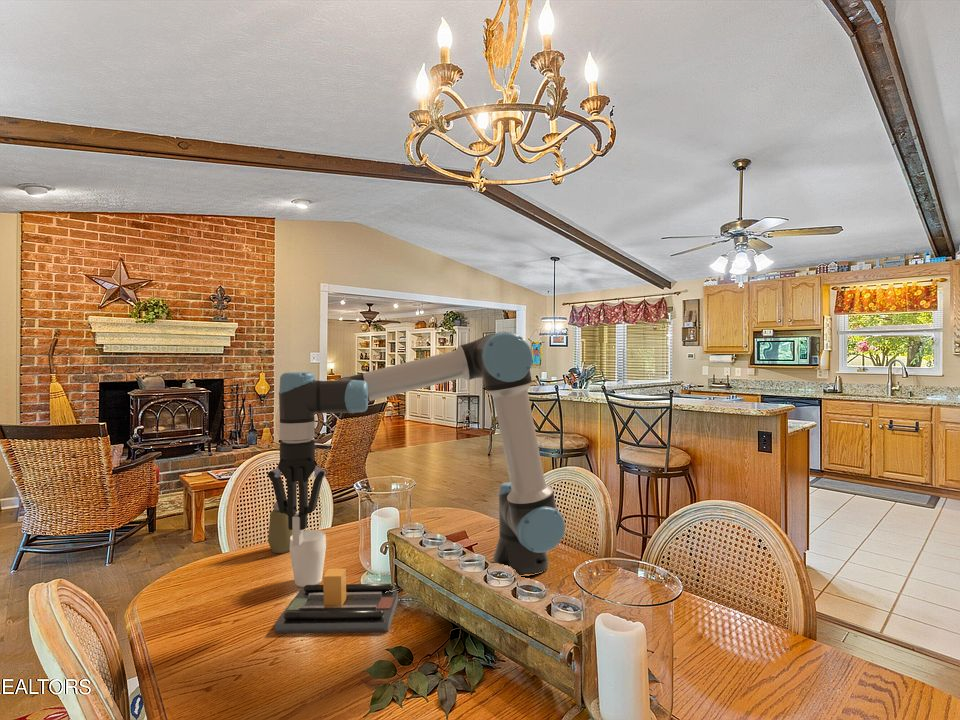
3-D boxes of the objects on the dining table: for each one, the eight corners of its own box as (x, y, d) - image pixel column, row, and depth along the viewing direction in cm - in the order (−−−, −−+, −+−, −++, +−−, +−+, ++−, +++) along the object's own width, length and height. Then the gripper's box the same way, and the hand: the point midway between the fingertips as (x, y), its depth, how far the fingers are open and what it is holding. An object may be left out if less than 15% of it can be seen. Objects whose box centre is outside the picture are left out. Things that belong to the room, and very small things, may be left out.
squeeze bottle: (302, 548, 151) (301, 489, 151) (279, 557, 144) (278, 496, 144) (285, 543, 156) (284, 486, 155) (262, 552, 149) (261, 492, 148)
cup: (332, 574, 133) (331, 529, 133) (318, 590, 124) (317, 542, 124) (300, 573, 134) (299, 529, 134) (283, 589, 125) (282, 541, 125)
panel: (399, 595, 121) (399, 580, 121) (388, 631, 105) (388, 614, 105) (301, 596, 121) (301, 581, 121) (275, 633, 105) (274, 616, 105)
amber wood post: (346, 598, 115) (345, 568, 115) (341, 607, 111) (341, 576, 111) (329, 598, 115) (328, 568, 115) (323, 607, 111) (323, 576, 111)
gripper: (330, 437, 116) (331, 537, 117) (275, 437, 116) (276, 537, 117) (320, 442, 109) (321, 549, 109) (261, 443, 109) (262, 550, 109)
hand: (298, 543), depth 113 cm, fingers closed
